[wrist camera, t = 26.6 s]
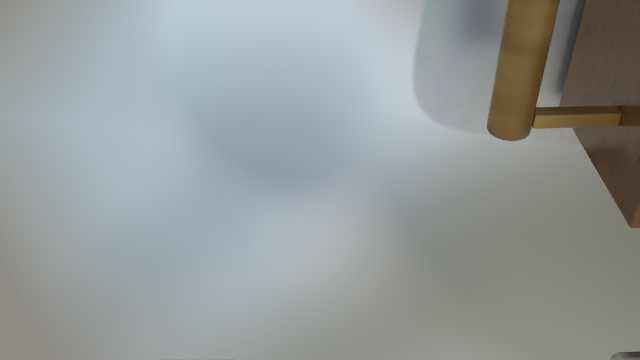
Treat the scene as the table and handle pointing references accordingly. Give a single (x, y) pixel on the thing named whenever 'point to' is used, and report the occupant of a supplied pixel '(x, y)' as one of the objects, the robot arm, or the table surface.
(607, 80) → the drawer
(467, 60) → the table surface
